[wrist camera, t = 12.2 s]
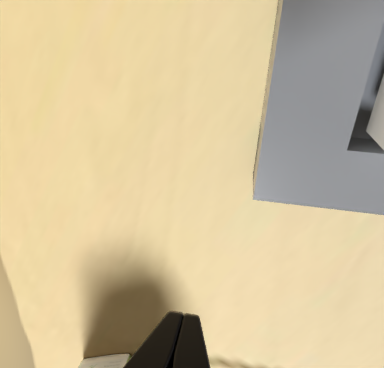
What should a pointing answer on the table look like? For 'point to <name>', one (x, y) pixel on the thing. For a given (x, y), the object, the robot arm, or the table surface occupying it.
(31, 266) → the table surface
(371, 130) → the plug
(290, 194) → the socket
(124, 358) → the syrup box
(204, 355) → the robot arm
